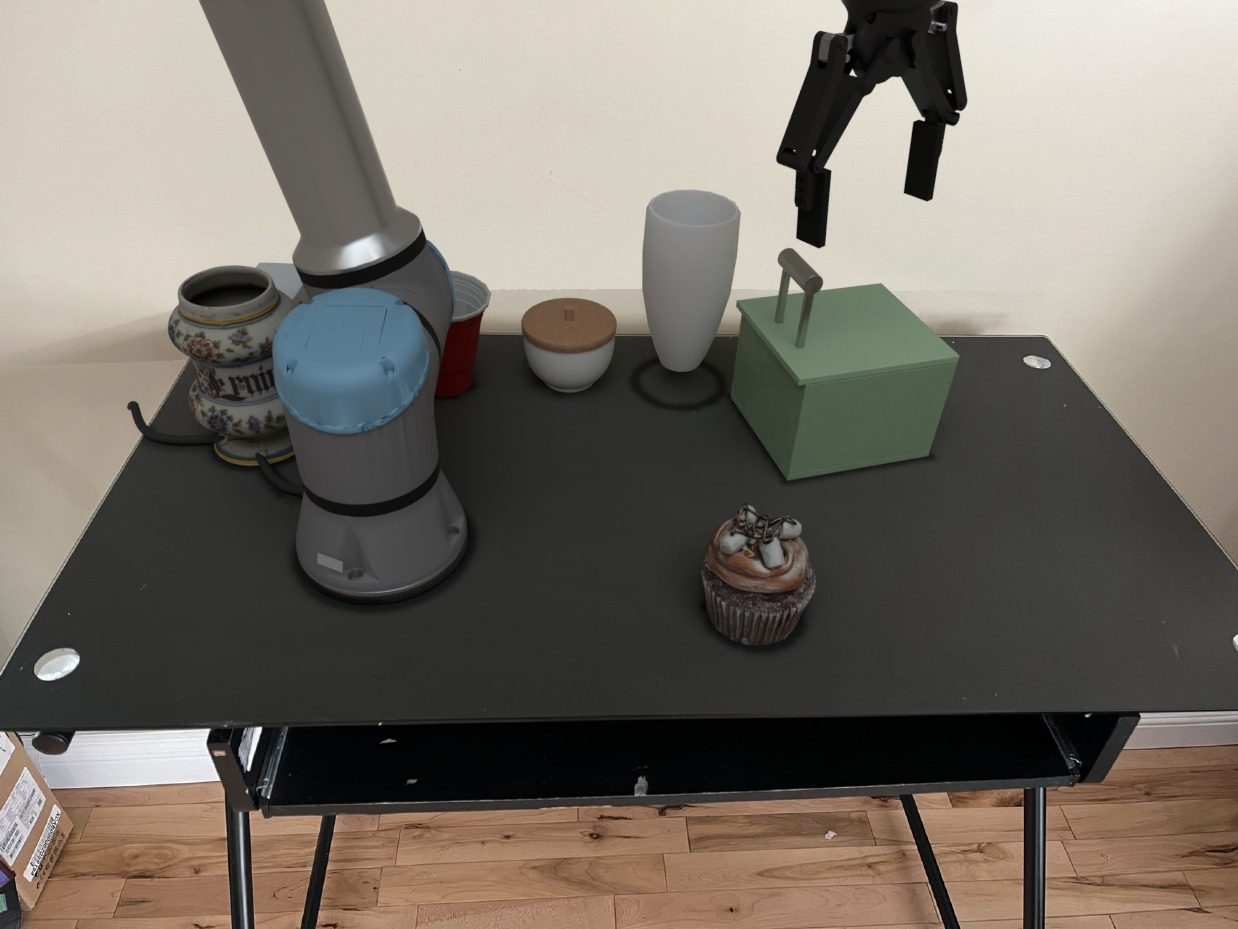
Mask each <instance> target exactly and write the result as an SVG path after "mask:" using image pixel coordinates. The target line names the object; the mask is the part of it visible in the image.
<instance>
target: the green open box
mask: <svg viewBox="0 0 1238 929" xmlns="http://www.w3.org/2000/svg"><path fill="white" fill-rule="evenodd" d="M957 366H958V362H957V363H950V364H944V365H937V366H930V367H923V368H916V369H909V370H903V371H896V372H889V373H882V374H875V375H869V376H862V377H855V378H848V379H841V380H834V381H828V382H821V383H814V384H807V385H800V386H799V385H798V384H797V383H796V382H795V381H794V379H793V378H792V377H791V376H790V374H789V373H788V372H787V371H786V369H785V368H784V367H783V365H782V364H781V363H780V362H779V360H778V359H777V358H776V357H775V355H774V354H773V353H772V352H771V350H770V349H769V348H768V346H767V345H766V344H765V343H764V341H763V340H762V339H761V338H760V336H759V335H758V334H757V333H756V331H755V330H754V329H753V327H752V326H751V325H750V324H749V322H748V321H747V320H746V319H745V317H744V316H743V315H742V314H741V315H740V322H739V329H738V338H737V345H736V351H735V359H734V367H733V374H732V376H733V377H732V384H731V391H730V398H731V400H732V401H733V402H734V404H735V406H736V407H737V409H738V410H739V412H740V414H742V416H743V418H744V419H745V420H746V423H748V425H749V427H750V428H751V430H752V431H753V432H754V433H755V436H757V438H758V440H759V441H760V443H761V444H762V446H763V447H764V449H765V450H766V451H767V453H768V454H769V456H770V457H771V460H773V463H775V465H776V466H777V467H778V469H779V471H780V472H781V474H782V475H783V477H784V478H785V479H786V481H793V480H800V479H805V478H811V477H817V476H822V475H823V476H824V475H829V474H833V473H839V472H840V473H841V472H846V471H850V470H857V469H863V468H869V467H874V466H880V465H885V464H890V463H897V462H903V461H909V460H914V459H921V458H926V457H929V456H930V452H931V448H932V446H933V442H934V439H935V436H936V433H937V430H938V427H939V423H940V420H941V417H942V414H943V411H944V408H945V405H946V401H947V399H948V396H949V393H950V390H951V389H950V388H951V386H952V384H953V379H954V376H955V373H956V370H957Z"/></svg>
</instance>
